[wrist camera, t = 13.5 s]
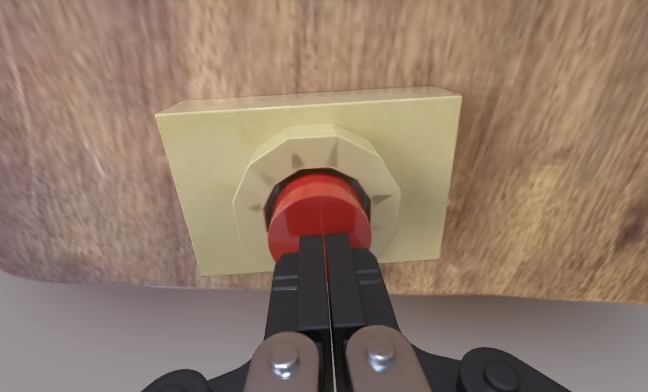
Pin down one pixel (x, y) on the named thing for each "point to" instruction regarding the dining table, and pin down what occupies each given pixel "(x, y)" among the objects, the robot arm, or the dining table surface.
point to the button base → (312, 167)
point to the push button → (317, 213)
